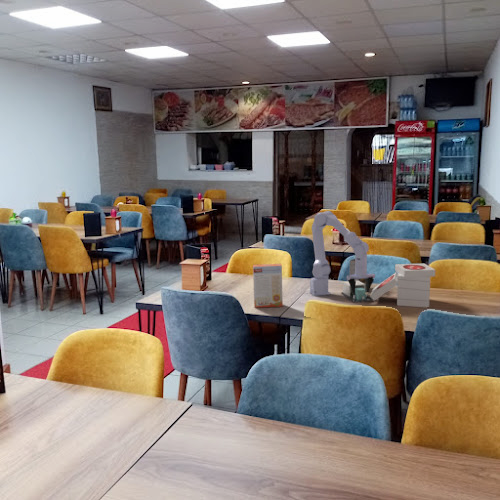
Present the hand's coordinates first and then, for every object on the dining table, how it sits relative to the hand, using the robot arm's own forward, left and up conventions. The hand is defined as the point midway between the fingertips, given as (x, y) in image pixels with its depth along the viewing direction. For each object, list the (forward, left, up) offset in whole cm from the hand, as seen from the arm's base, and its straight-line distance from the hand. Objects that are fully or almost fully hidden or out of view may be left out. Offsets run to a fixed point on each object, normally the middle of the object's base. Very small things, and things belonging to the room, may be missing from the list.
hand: (360, 292), depth 265 cm
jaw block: (0, 0, -3) cm, 3 cm away
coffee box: (+8, +21, -4) cm, 23 cm away
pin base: (0, +4, -4) cm, 6 cm away
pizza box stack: (+18, -10, -4) cm, 21 cm away
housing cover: (0, +9, -3) cm, 9 cm away
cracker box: (-48, +2, -4) cm, 48 cm away
